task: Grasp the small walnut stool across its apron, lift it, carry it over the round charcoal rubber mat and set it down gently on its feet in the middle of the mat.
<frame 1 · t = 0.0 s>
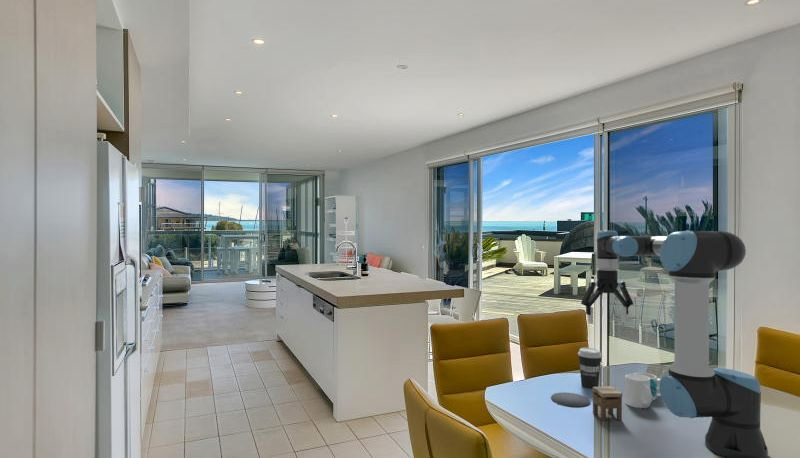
hand: (607, 323, 187), 28 cm above the table, fingers open, 13 cm apart
mug: (640, 407, 173), on the table
stool: (607, 416, 164), on the table
coffee cup: (589, 386, 196), on the table
mug 2: (650, 396, 184), on the table
mat: (570, 400, 180), on the table
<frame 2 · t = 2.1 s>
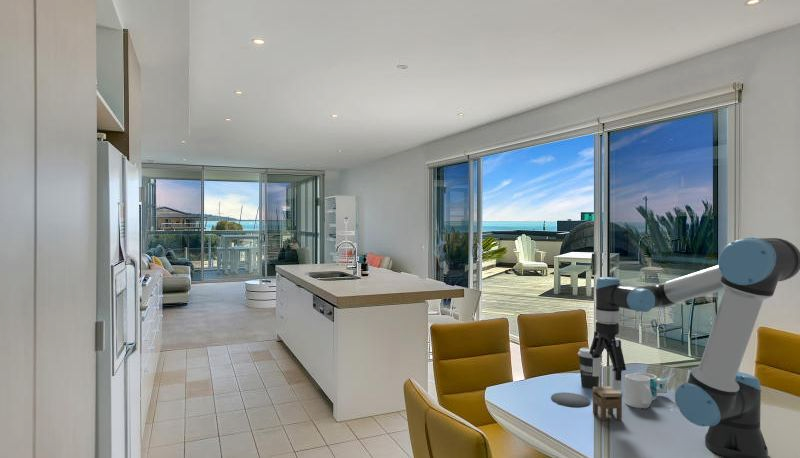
hand: (606, 382, 165), 12 cm above the table, fingers open, 13 cm apart
nothing on the table moved.
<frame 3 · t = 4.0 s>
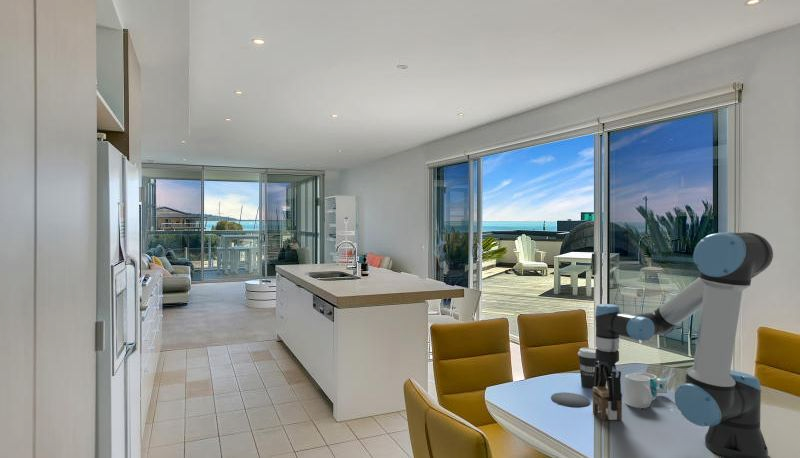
hand: (607, 414, 164), 1 cm above the table, fingers closed on stool, 7 cm apart
stool: (607, 416, 164), on the table, touching gripper
everything else where it was.
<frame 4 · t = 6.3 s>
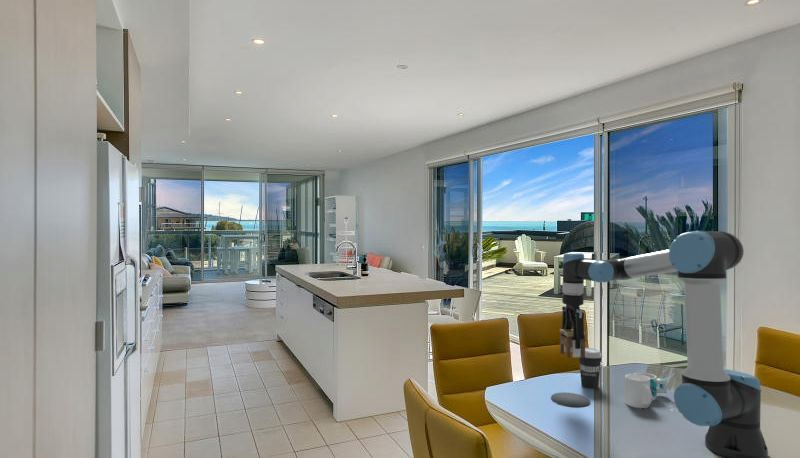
hand: (572, 354, 179), 18 cm above the table, fingers closed on stool, 7 cm apart
stool: (572, 355, 179), point 17 cm above the table, touching gripper
everything else where it was.
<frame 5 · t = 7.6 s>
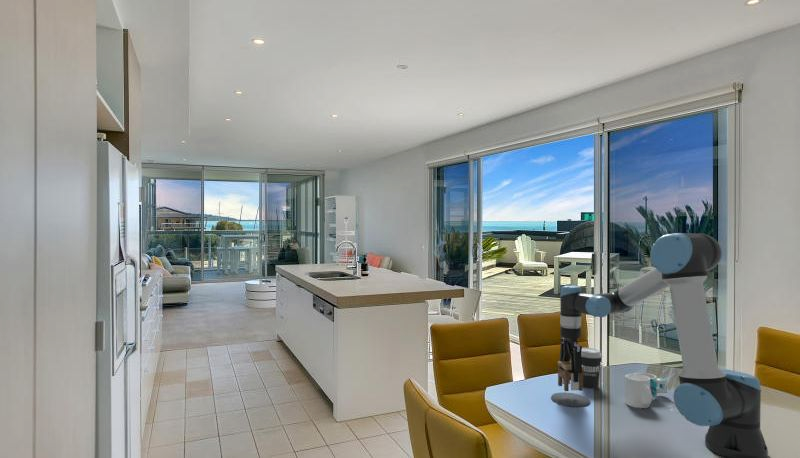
hand: (570, 386, 180), 5 cm above the table, fingers closed on stool, 7 cm apart
stool: (570, 387, 180), point 5 cm above the table, touching gripper
everything else where it was.
when the fingers open (2 cm above the table, at t = 8.6 s): stool stays where it is, resting on mat.
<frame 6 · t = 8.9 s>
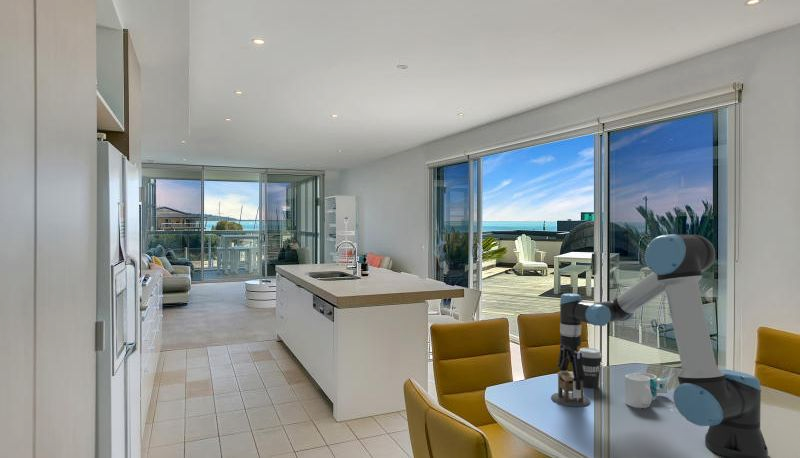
hand: (570, 392, 180), 3 cm above the table, fingers open, 10 cm apart
stool: (570, 398, 180), resting on mat
everything else where it was.
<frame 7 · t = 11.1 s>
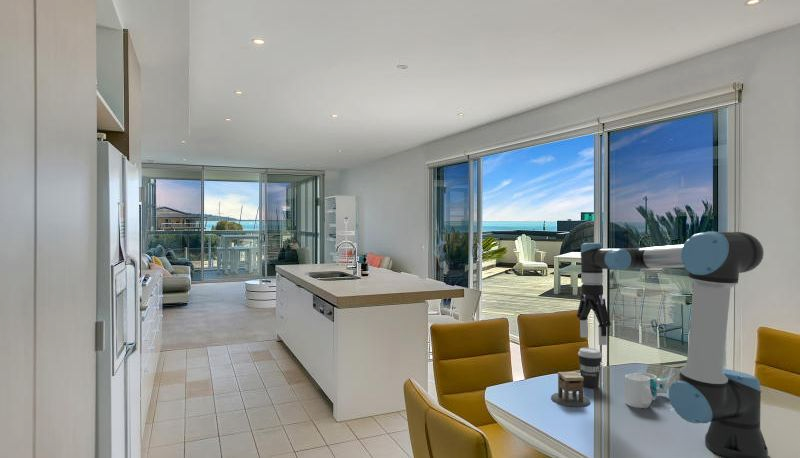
hand: (593, 340, 176), 23 cm above the table, fingers open, 13 cm apart
nothing on the table moved.
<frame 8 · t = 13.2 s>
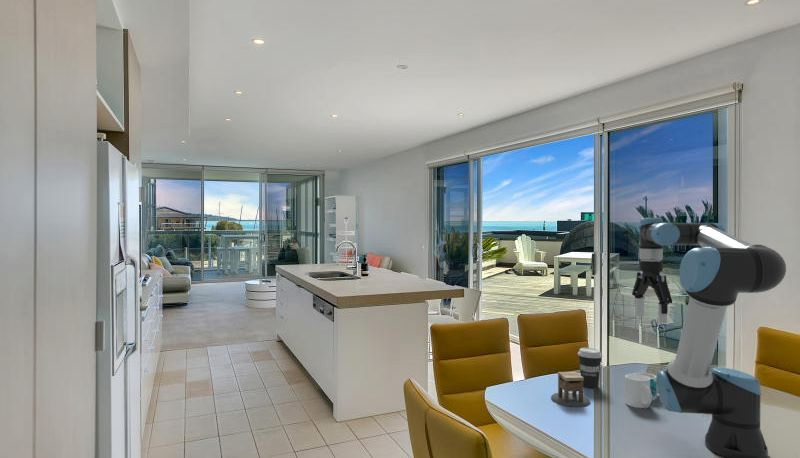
hand: (650, 319, 171), 33 cm above the table, fingers open, 13 cm apart
nothing on the table moved.
at the end: stool 0.1 cm from the mat (horizontally); stool tilted 0°; the gripper is holding nothing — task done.
